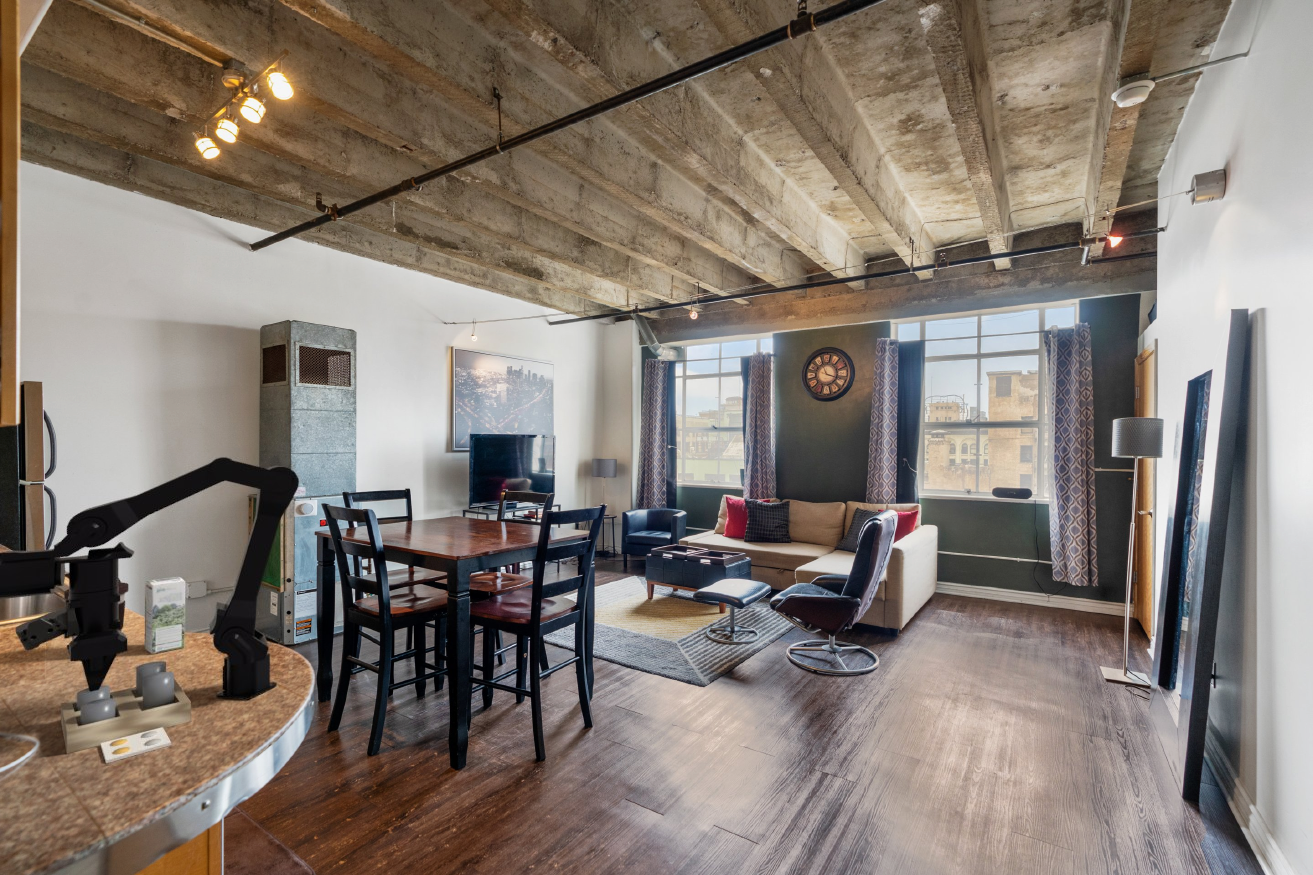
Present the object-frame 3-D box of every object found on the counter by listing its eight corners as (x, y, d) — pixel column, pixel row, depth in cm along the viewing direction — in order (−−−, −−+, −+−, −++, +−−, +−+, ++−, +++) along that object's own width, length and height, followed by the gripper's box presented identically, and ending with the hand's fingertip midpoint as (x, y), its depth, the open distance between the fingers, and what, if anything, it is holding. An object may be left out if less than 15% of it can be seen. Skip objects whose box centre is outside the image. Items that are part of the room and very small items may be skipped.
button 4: (171, 695, 100) (171, 669, 100) (176, 702, 97) (176, 675, 97) (140, 702, 97) (141, 676, 97) (144, 710, 94) (144, 682, 94)
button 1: (108, 709, 100) (108, 683, 100) (111, 716, 97) (111, 689, 97) (75, 717, 97) (76, 690, 97) (77, 724, 94) (77, 697, 94)
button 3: (164, 684, 105) (164, 659, 105) (168, 690, 102) (168, 664, 102) (134, 690, 102) (134, 665, 102) (137, 697, 99) (138, 671, 99)
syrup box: (177, 642, 136) (177, 575, 136) (185, 647, 132) (185, 579, 133) (144, 649, 132) (144, 580, 132) (151, 655, 128) (151, 583, 128)
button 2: (113, 723, 95) (113, 696, 95) (116, 731, 92) (116, 703, 92) (79, 731, 92) (79, 703, 92) (81, 740, 89) (81, 711, 89)
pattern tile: (162, 729, 94) (162, 725, 94) (171, 745, 89) (171, 741, 89) (100, 745, 89) (100, 742, 89) (105, 763, 84) (105, 759, 84)
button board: (174, 696, 107) (174, 678, 107) (190, 721, 97) (190, 701, 97) (61, 722, 97) (61, 703, 97) (66, 753, 87) (66, 731, 87)
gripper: (19, 588, 98) (19, 688, 98) (20, 610, 85) (20, 726, 85) (113, 577, 106) (113, 670, 106) (127, 595, 93) (127, 701, 93)
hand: (94, 690), depth 97 cm, fingers closed, pressing on button 1
